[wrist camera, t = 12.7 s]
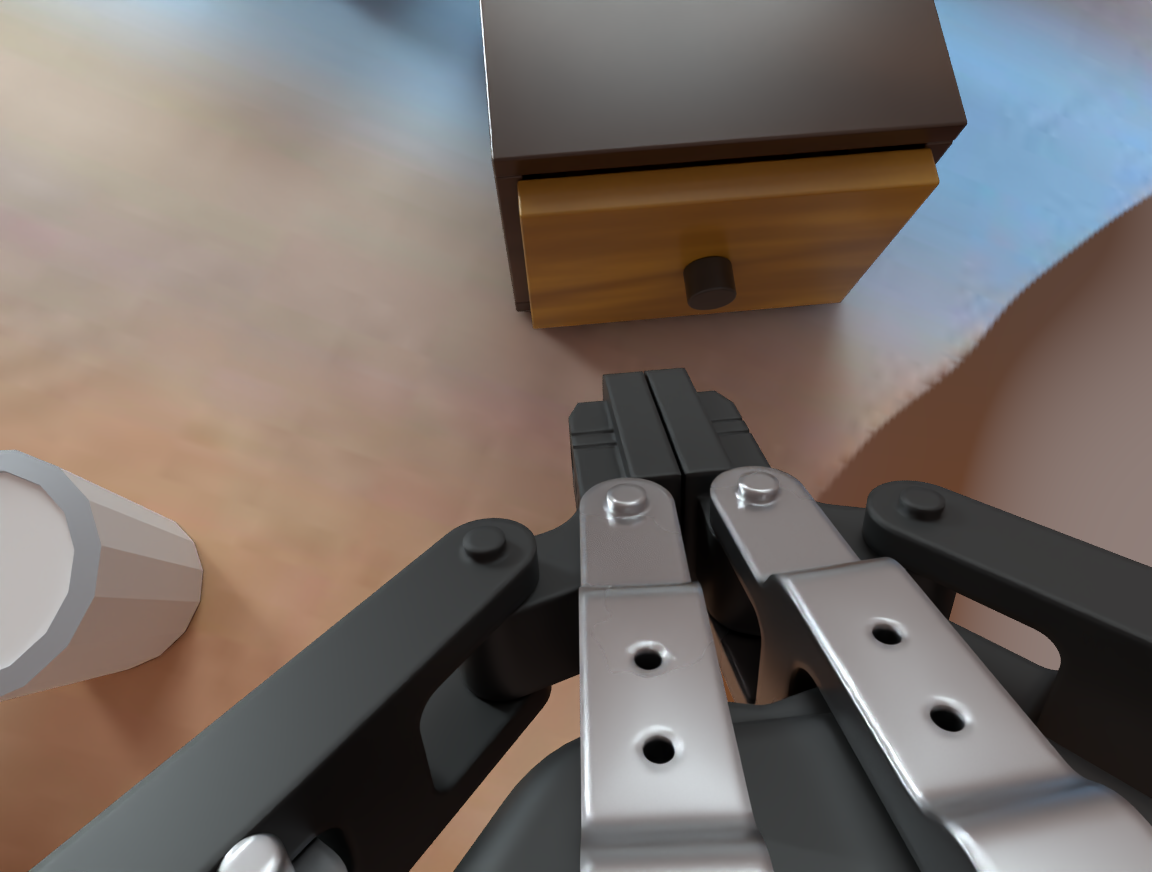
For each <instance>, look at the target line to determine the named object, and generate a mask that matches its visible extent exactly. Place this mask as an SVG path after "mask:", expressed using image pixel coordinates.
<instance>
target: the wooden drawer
mask: <svg viewBox="0 0 1152 872" xmlns="http://www.w3.org/2000/svg"><path fill="white" fill-rule="evenodd" d="M872 149H873V147H872V148H859V149H847V150H834V151H821V152H809V153H796V154H783V155H771V156H758V157H745V158H733V159H720V160H707V161H695V162H682V163H669V164H657V165H644V166H632V167H619V168H606V169H594V170H581V171H568V172H556V173H543V174H537V179H532V180H520V181H518V182H517V192H518V203H519V215H520V224H521V232H522V240H523V249H524V257H525V266H526V274H527V283H528V291H529V300H530V308H531V316H532V325H533V328H534V329H539V328H550V327H562V326H574V325H585V324H597V323H608V322H620V321H631V320H643V319H654V318H666V317H678V316H689V315H701V314H712V313H724V312H735V311H747V310H759V309H770V308H782V307H793V306H805V305H816V304H828V303H839V302H841V301H842V300H843V299H844V298H845V296H846V295H847V294H848V293H849V292H850V290H851V289H852V288H853V287H854V286H855V284H856V283H857V282H858V281H859V279H860V278H861V277H862V276H863V275H864V273H865V272H866V271H867V270H868V269H869V267H870V266H871V265H872V264H873V263H874V261H875V260H876V259H877V258H878V257H879V255H880V254H881V253H882V252H883V251H884V249H885V248H886V247H887V246H888V245H889V243H890V242H891V241H892V240H893V239H894V237H895V236H896V235H897V234H898V233H899V231H900V230H901V229H902V228H903V227H904V225H905V224H906V223H907V222H908V221H909V219H910V218H911V217H912V216H913V215H914V213H915V212H916V211H917V210H918V209H919V207H920V206H921V205H922V204H923V203H924V201H925V200H926V199H927V198H928V197H929V195H930V194H931V193H932V192H933V190H934V189H935V188H936V187H937V186H938V184H939V177H938V173H937V170H936V166H935V162H934V158H933V154H932V150H931V149H930V148H923V149H910V150H897V151H885V152H872V153H870V152H871V151H872Z"/></svg>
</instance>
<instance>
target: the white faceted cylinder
mask: <svg viewBox="0 0 1152 872" xmlns="http://www.w3.org/2000/svg"><path fill="white" fill-rule="evenodd" d="M202 576H203V569H202V565H201V562H200V559H199V556H198V553H197V550H196V546H195V543H194V542H193V540H192V539H191V538H190V537H189V536H188V535H187V534H186V533H185V532H184V531H183V530H182V529H181V528H180V526H179V525H178V524H177V523H176V522H175V521H173V520H171V519H169V518H166V517H164V516H162V515H160V514H158V513H156V512H154V511H151V510H149V509H147V508H145V507H143V506H141V505H139V504H137V503H134V502H132V501H130V500H128V499H126V498H124V497H122V496H120V495H117V494H115V493H113V492H111V491H109V490H107V489H105V488H103V487H100V486H98V485H96V484H94V483H92V482H90V481H88V480H86V479H83V478H81V477H79V476H77V475H75V474H73V473H71V472H69V471H66V470H64V469H62V468H60V467H58V466H55V465H53V464H50V463H48V462H45V461H43V460H40V459H38V458H35V457H33V456H30V455H28V454H25V453H23V452H20V451H18V450H0V702H1V701H5V700H9V699H13V698H17V697H21V696H25V695H29V694H33V693H37V692H41V691H45V690H49V689H53V688H57V687H61V686H65V685H69V684H73V683H77V682H80V681H84V680H88V679H92V678H96V677H100V676H104V675H108V674H112V673H116V672H120V671H124V670H128V669H131V668H133V667H135V666H137V665H140V664H142V663H144V662H147V661H149V660H151V659H153V658H156V657H158V656H160V655H161V654H162V653H163V652H164V651H165V650H166V649H167V648H168V647H169V646H171V645H172V644H173V643H174V642H175V641H176V640H177V639H178V638H179V637H180V636H181V635H182V634H183V633H184V632H185V631H186V629H187V627H188V625H189V623H190V621H191V619H192V617H193V615H194V613H195V611H196V609H197V607H198V605H199V603H200V596H201V586H202Z"/></svg>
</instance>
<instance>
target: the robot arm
mask: <svg viewBox="0 0 1152 872" xmlns="http://www.w3.org/2000/svg"><path fill="white" fill-rule="evenodd" d="M569 432H570V445H571V459H572V473H573V487H574V494H575V501H576V509H577V511H576V513H575V514H574V515H573V516H572V517H571V518H570V519H569V520H568V521H567V522H565V523H564V524H563V525H561V526H559V527H557V528H555V529H553V530H551V531H548V532H545V533H542V534H539V535H536V536H534V535H533V533H532V532H531V531H530V530H529V529H528V528H527V527H525V526H524V525H522V524H520V523H518V522H516V521H512V520H508V519H502V518H487V519H480V520H475V521H472V522H468V523H466V524H463V525H461V526H459V527H457V528H455V529H453V530H452V531H451V532H449V533H448V534H446V535H445V536H444V537H443V538H441V539H440V540H439V541H438V542H437V543H435V544H434V545H433V546H432V547H430V548H429V549H428V550H427V551H425V552H424V553H423V554H422V555H420V556H419V557H418V558H417V559H415V560H414V561H413V562H412V563H410V564H409V565H408V566H407V567H406V568H404V569H403V570H402V571H401V572H399V573H398V574H397V575H396V576H394V577H393V578H392V579H391V580H389V581H388V582H387V583H386V584H384V585H383V586H382V587H381V588H379V589H378V590H377V591H376V592H374V593H373V594H372V595H371V596H370V597H368V598H367V599H366V600H365V601H363V602H362V603H361V604H360V605H358V606H357V607H356V608H355V609H353V610H352V611H351V612H350V613H348V614H347V615H346V616H345V617H343V618H342V619H341V620H340V621H338V622H337V623H336V624H335V625H334V626H332V627H331V628H330V629H329V630H327V631H326V632H325V633H324V634H322V635H321V636H320V637H319V638H317V639H316V640H315V641H314V642H312V643H311V644H310V645H309V646H307V647H306V648H305V649H304V650H302V651H301V652H300V653H299V654H298V655H296V656H295V657H294V658H293V659H291V660H290V661H289V662H288V663H286V664H285V665H284V666H283V667H281V668H280V669H279V670H278V671H276V672H275V673H274V674H273V675H271V676H270V677H269V678H268V679H267V680H265V681H264V682H263V683H262V684H260V685H259V686H258V687H257V688H255V689H254V690H253V691H252V692H250V693H249V694H248V695H247V696H245V697H244V698H243V699H242V700H240V701H239V702H238V703H237V704H235V705H234V706H233V707H232V708H231V709H229V710H228V711H227V712H226V713H224V714H223V715H222V716H221V717H219V718H218V719H217V720H216V721H214V722H213V723H212V724H211V725H209V726H208V727H207V728H206V729H204V730H203V731H202V732H201V733H199V734H198V735H197V736H196V737H195V738H193V739H192V740H191V741H190V742H188V743H187V744H186V745H185V746H183V747H182V748H181V749H180V750H178V751H177V752H176V753H175V754H173V755H172V756H171V757H170V758H168V759H167V760H166V761H165V762H164V763H162V764H161V765H160V766H159V767H157V768H156V769H155V770H154V771H152V772H151V773H150V774H149V775H147V776H146V777H145V778H144V779H142V780H141V781H140V782H139V783H137V784H136V785H135V786H134V787H132V788H131V789H130V790H129V791H128V792H126V793H125V794H124V795H123V796H121V797H120V798H119V799H118V800H116V801H115V802H114V803H113V804H111V805H110V806H109V807H108V808H106V809H105V810H104V811H103V812H101V813H100V814H99V815H98V816H96V817H95V818H94V819H93V820H92V821H90V822H89V823H88V824H87V825H85V826H84V827H83V828H82V829H80V830H79V831H78V832H77V833H75V834H74V835H73V836H72V837H70V838H69V839H68V840H67V841H65V842H64V843H63V844H62V845H60V846H59V847H58V848H57V849H56V850H54V851H53V852H52V853H51V854H49V855H48V856H47V857H46V858H44V859H43V860H42V861H41V862H39V863H38V864H37V865H36V866H34V867H33V868H32V869H31V870H29V871H28V872H409V871H410V869H411V868H412V867H413V866H414V865H415V863H416V862H417V861H418V860H419V858H420V857H421V856H422V855H423V854H424V852H425V851H426V850H427V849H428V847H429V846H430V845H431V844H432V843H433V841H434V840H435V839H436V838H437V836H438V835H439V834H440V833H441V832H442V830H443V829H444V828H445V827H446V825H447V824H448V823H449V822H450V821H451V819H452V818H453V817H454V816H455V814H456V813H457V812H458V811H459V810H460V808H461V807H462V806H463V805H464V803H465V802H466V801H467V800H468V799H469V797H470V796H471V795H472V794H473V792H474V791H475V790H476V789H477V788H478V786H479V785H480V784H481V783H482V781H483V780H484V779H485V778H486V777H487V775H488V774H489V773H490V772H491V770H492V769H493V768H494V767H495V766H496V764H497V763H498V762H499V761H500V759H501V758H502V757H503V756H504V755H505V753H506V752H507V751H508V750H509V748H510V747H511V746H512V745H513V743H514V742H515V741H516V740H517V739H518V737H519V736H520V735H521V734H522V732H523V731H524V730H525V729H526V728H527V726H528V725H529V724H530V723H531V721H532V720H533V719H534V718H535V717H536V715H537V714H538V713H539V712H540V710H541V709H542V708H543V707H544V705H545V704H546V702H547V701H548V698H549V696H550V693H551V685H553V684H556V683H558V682H561V681H563V680H566V679H568V678H571V677H573V676H576V675H578V674H580V737H579V738H577V739H575V740H573V741H571V742H569V743H567V744H565V745H563V746H562V747H560V748H559V749H557V750H556V751H554V752H553V753H551V754H549V755H548V756H547V757H546V758H544V759H543V760H542V761H541V762H540V763H538V764H537V765H536V766H535V767H534V768H533V769H531V770H530V771H529V772H528V773H527V774H526V776H525V777H524V778H523V779H522V780H521V781H520V782H519V783H518V784H517V785H516V786H515V787H514V789H513V790H512V791H511V793H510V794H509V795H508V796H507V798H506V799H505V801H504V802H503V803H502V805H501V806H500V807H499V809H498V810H497V812H496V813H495V814H494V816H493V817H492V819H491V820H490V821H489V823H488V824H487V826H486V827H485V828H484V830H483V831H482V833H481V834H480V835H479V837H478V838H477V840H476V841H475V842H474V844H473V845H472V846H471V848H470V849H469V851H468V852H467V853H466V855H465V856H464V858H463V859H462V860H461V862H460V863H459V865H458V866H457V867H456V869H455V870H454V872H1152V567H1149V566H1147V565H1144V564H1141V563H1139V562H1136V561H1133V560H1131V559H1128V558H1125V557H1123V556H1120V555H1118V554H1115V553H1113V552H1110V551H1107V550H1105V549H1102V548H1100V547H1097V546H1094V545H1092V544H1089V543H1086V542H1084V541H1081V540H1079V539H1076V538H1073V537H1071V536H1068V535H1065V534H1063V533H1060V532H1057V531H1055V530H1052V529H1050V528H1047V527H1045V526H1042V525H1039V524H1037V523H1034V522H1031V521H1029V520H1026V519H1024V518H1021V517H1018V516H1016V515H1013V514H1011V513H1008V512H1005V511H1003V510H1000V509H997V508H995V507H992V506H990V505H987V504H984V503H982V502H979V501H977V500H974V499H971V498H969V497H966V496H963V495H961V494H958V493H956V492H953V491H950V490H947V489H945V488H943V487H940V486H937V485H933V484H929V483H925V482H918V481H893V482H888V483H885V484H882V485H879V486H877V487H876V488H874V489H873V490H872V491H871V492H870V494H869V496H868V499H867V504H866V508H858V507H849V506H839V505H831V504H824V503H820V502H815V500H814V499H813V498H812V496H811V495H810V494H809V492H808V491H807V490H806V489H805V487H804V486H803V485H802V484H801V483H800V482H799V481H798V480H797V479H796V478H794V477H793V476H791V475H789V474H787V473H785V472H783V471H780V470H777V469H773V468H771V467H770V465H769V463H768V462H767V460H766V458H765V457H764V455H763V453H762V451H761V450H760V448H759V446H758V444H757V443H756V441H755V439H754V438H753V436H752V434H751V433H749V429H748V427H747V425H746V424H745V422H744V421H742V417H741V415H740V413H739V412H738V410H737V408H736V406H735V405H734V403H733V402H731V401H730V400H728V399H727V398H725V397H724V396H722V395H720V394H719V393H717V392H716V391H706V392H696V390H695V388H694V386H693V384H692V382H691V380H690V378H689V376H688V374H687V372H686V370H685V368H674V369H663V370H651V371H645V372H644V374H643V372H642V371H641V372H630V373H618V374H607V375H603V401H595V402H584V403H578V404H577V405H576V407H575V408H574V410H573V411H572V413H571V415H570V416H569ZM956 592H957V593H959V594H961V595H963V596H966V597H968V598H970V599H972V600H974V601H976V602H978V603H980V604H983V605H985V606H987V607H989V608H991V609H993V610H995V611H997V612H1000V613H1002V614H1004V615H1006V616H1008V617H1010V618H1012V619H1014V620H1016V621H1019V622H1021V623H1023V624H1025V625H1027V626H1029V627H1031V628H1034V629H1036V630H1037V631H1039V632H1041V633H1042V634H1044V635H1045V636H1046V637H1048V638H1049V639H1050V640H1051V641H1052V642H1053V643H1054V645H1055V646H1056V648H1057V649H1058V651H1059V654H1060V657H1061V665H1060V668H1059V670H1050V669H1047V668H1044V667H1042V666H1039V665H1037V664H1035V663H1033V662H1031V661H1029V660H1027V659H1025V658H1023V657H1021V656H1019V655H1017V654H1015V653H1013V652H1011V651H1009V650H1007V649H1005V648H1003V647H1001V646H999V645H997V644H995V643H993V642H991V641H989V640H987V639H985V638H983V637H981V636H979V635H977V634H975V633H973V632H971V631H969V630H967V629H965V628H963V627H961V626H959V625H957V624H955V623H953V622H951V621H949V617H950V613H951V610H952V606H953V602H954V599H955V595H956ZM720 668H721V671H722V673H723V676H724V678H725V680H726V683H727V685H728V687H729V690H730V692H731V694H732V697H733V699H734V701H735V703H734V702H727V697H726V693H725V689H724V684H723V680H722V675H721V671H720Z"/></svg>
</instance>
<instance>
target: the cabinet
mask: <svg viewBox="0 0 1152 872" xmlns="http://www.w3.org/2000/svg"><path fill="white" fill-rule="evenodd" d="M479 3H480V16H481V29H482V41H483V54H484V67H485V80H486V93H487V105H488V118H489V131H490V144H491V157H492V165H493V171H494V176H495V183H496V189H497V195H498V201H499V207H500V214H501V220H502V226H503V232H504V238H505V244H506V250H507V256H508V262H509V269H510V275H511V281H512V287H513V293H514V299H515V305H516V310H517V311H529V310H531V308H530V300H529V291H528V283H527V274H526V266H525V257H524V249H523V240H522V232H521V224H520V215H519V203H518V192H517V182H518V181H520V180H532V179H537V174H543V173H556V172H568V171H581V170H594V169H606V168H619V167H632V166H644V165H657V164H669V163H682V162H695V161H707V160H720V159H733V158H745V157H758V156H771V155H783V154H796V153H809V152H821V151H834V150H847V149H859V148H872V147H873V149H872V151H871V152H870V153H872V152H885V151H897V150H910V149H923V148H930V149H931V150H932V154H933V158H934V162H935V165H936V163H937V162H938V161H939V160H940V158H941V157H942V156H943V154H944V153H945V152H946V151H947V149H948V148H949V147H950V146H951V144H952V142H953V140H955V139H956V138H957V136H958V135H959V134H960V132H961V131H962V130H963V129H964V127H965V126H966V125H967V119H966V115H965V112H964V108H963V105H962V101H961V97H960V94H959V90H958V86H957V83H956V79H955V76H954V72H953V68H952V65H951V61H950V57H949V54H948V50H947V47H946V43H945V39H944V36H943V32H942V28H941V25H940V21H939V18H938V14H937V10H936V7H935V3H934V0H479Z"/></svg>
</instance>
